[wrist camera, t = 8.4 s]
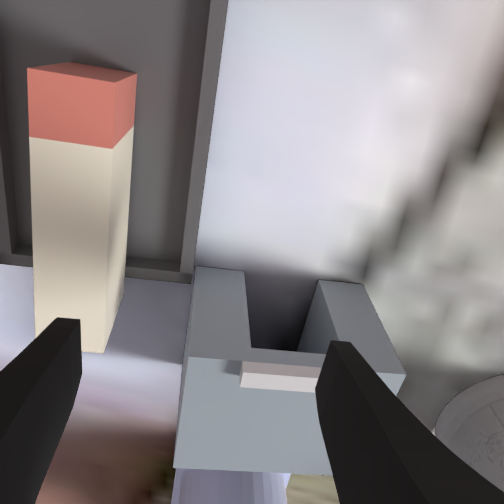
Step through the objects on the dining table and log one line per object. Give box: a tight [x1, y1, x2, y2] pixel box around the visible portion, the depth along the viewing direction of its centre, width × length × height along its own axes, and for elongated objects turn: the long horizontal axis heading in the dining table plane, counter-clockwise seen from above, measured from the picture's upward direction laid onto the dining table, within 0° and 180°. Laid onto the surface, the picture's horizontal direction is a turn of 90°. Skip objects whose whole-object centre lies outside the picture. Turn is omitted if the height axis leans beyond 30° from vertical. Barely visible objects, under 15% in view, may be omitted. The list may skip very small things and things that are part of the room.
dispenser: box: [173, 266, 406, 475], centre depth 22 cm, size 7×9×7 cm
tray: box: [0, 0, 228, 284], centre depth 18 cm, size 14×9×2 cm, turn 170°
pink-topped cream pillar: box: [27, 62, 137, 353], centre depth 17 cm, size 10×2×4 cm, turn 170°
